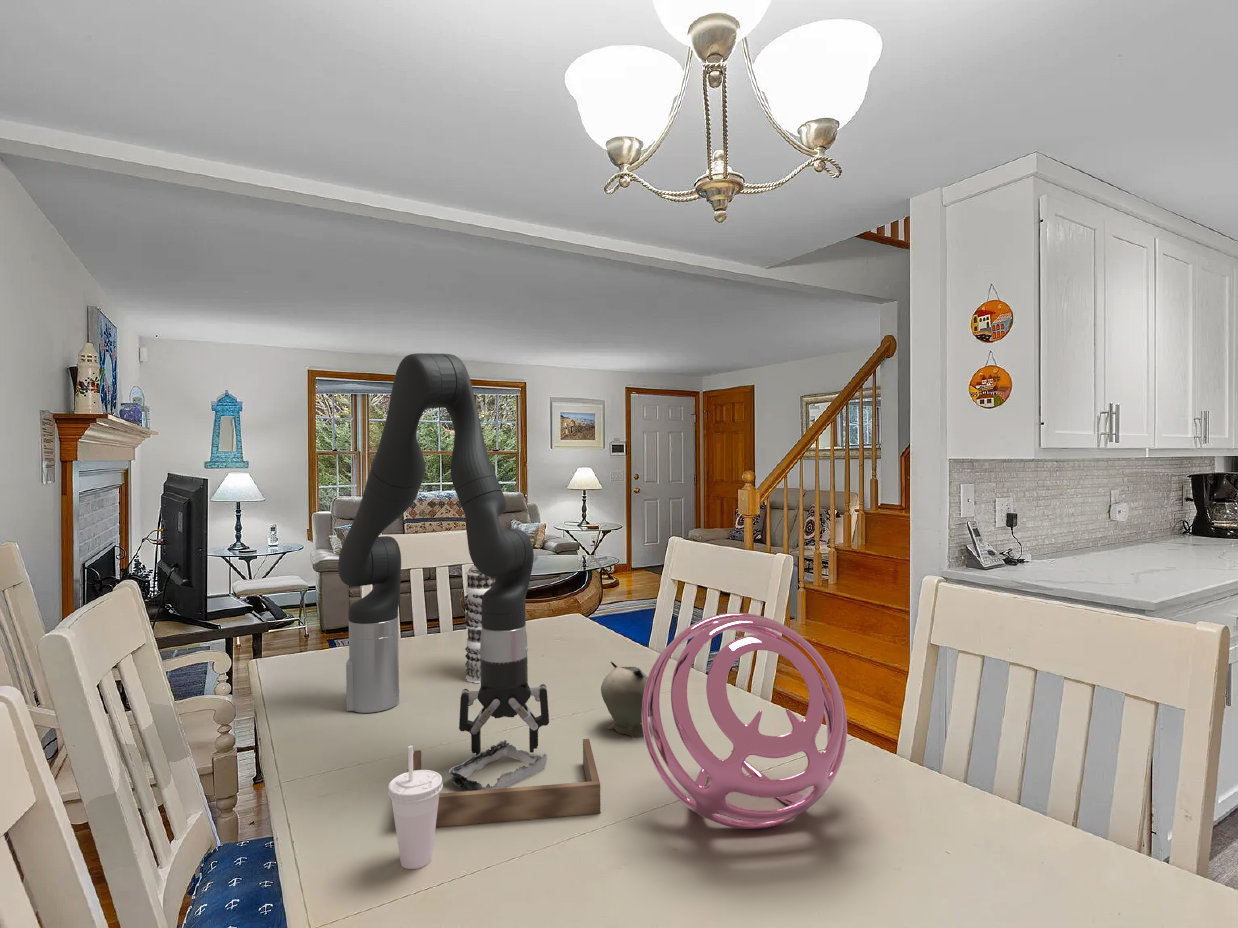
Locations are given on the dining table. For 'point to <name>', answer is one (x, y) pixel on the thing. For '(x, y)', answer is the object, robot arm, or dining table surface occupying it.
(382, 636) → the robot arm
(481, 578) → the decorative candle
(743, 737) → the pink openwork sphere
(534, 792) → the box
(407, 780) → the smoothie
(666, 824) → the dining table surface
